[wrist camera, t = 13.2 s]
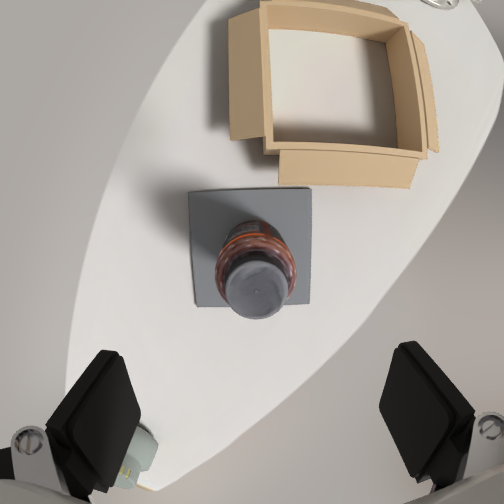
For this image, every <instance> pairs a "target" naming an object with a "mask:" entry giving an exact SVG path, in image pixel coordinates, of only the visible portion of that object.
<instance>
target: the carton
mask: <svg viewBox="0 0 504 504" xmlns="http://www.w3.org/2000/svg"><path fill="white" fill-rule="evenodd" d="M268 29H287V30H304V31H315V32H325V33H333V34H340V35H347V36H353V37H359V38H364V39H369V40H374V41H379V42H383V43H385V45H386V50H387V55H388V61H389V67H390V74H391V80H392V88H393V96H394V105H395V115H396V127H397V144H398V149H395V148H386V147H377V146H366V145H354V144H338V143H318V142H273V115H272V91H271V70H270V51H269V34H268ZM228 51H229V118H230V140H232V141H234V140H241V139H248V138H256V137H263V155H279V176H278V184H279V185H339V186H369V187H389V188H405V189H409V188H410V185H411V182H412V180H413V177H414V174H415V171H416V168H417V165H418V162H419V160H422V159H428V158H427V149H429V150H431V151H434V152H436V153H439V141H438V128H437V117H436V109H435V101H434V94H433V87H432V81H431V75H430V70H429V65H428V60H427V55H426V51H425V46H424V44H423V43H422V41H421V40H420V39H419V38H418V37H417V36H416V35H415V34H414V33H413V32H412V31H410V30H409V27H408V23H406V22H402V21H399V18H398V17H396V16H395V15H394V14H393V13H392V12H391V11H390V10H388V9H387V8H385V7H382V6H378V5H374V4H369V3H365V2H360V1H356V0H271V1H260V4H259V8H257V9H254V10H251V11H248V12H246V13H243V14H240V15H237V16H235V17H232V18H230V19H228Z"/></svg>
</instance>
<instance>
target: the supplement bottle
mask: <svg viewBox="0 0 504 504" xmlns="http://www.w3.org/2000/svg"><path fill="white" fill-rule="evenodd" d="M296 276H297V272H296V265H295V261H294V259H293V256H292V254H291V252H290V250H289V249H288V247H287V245H286V243H285V241H284V240H283V238H282V236H281V234H280V233H279V232H278V230H277V229H276V228H274V227H273V226H272V225H270V224H269V223H266V222H264V221H260V220H248V221H244V222H242V223H240V224H238V225H236V226H235V227H234V228H233V229H232V230H231V231H230V232H229V234H228V235H227V237H226V239H225V242H224V244H223V247H222V249H221V252H220V254H219V257H218V260H217V263H216V267H215V282H216V286H217V289H218V291H219V293H220V295H221V297H222V298H223V300H224V301H226V302H227V303H228V304H229V305H230V307H231V308H232V309H233V310H234V311H235V312H236V313H238V314H239V315H241V316H243V317H245V318H249V319H264V318H267V317H270V316H272V315H273V314H275V313H276V312H278V311H279V310H280V309H281V308H282V307H283V305H284V304H285V302H286V300H287V299H288V298H289V297H290V295H291V293H292V291H293V289H294V287H295V283H296Z"/></svg>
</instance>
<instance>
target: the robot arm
mask: <svg viewBox="0 0 504 504" xmlns="http://www.w3.org/2000/svg"><path fill="white" fill-rule="evenodd" d="M422 1H424V2H426V3H428V4H430V5H432V6H434V7H437V8H440V9H444V10H450V9H453V8H454V7H456V6H457V5H458V3H459V0H422ZM472 1H474V2H475V3H477V4H479V3H481V1H482V0H472ZM379 409H380V412H381V414H382V417H383V419H384V421H385V423H386V425H387V427H388V429H389V431H390V433H391V435H392V437H393V439H394V442H395V444H396V446H397V448H398V450H399V453H400V455H401V457H402V459H403V461H404V463H405V466H406V468H407V470H408V472H409V474H410V476H411V477H413V478H414V477H415V479H416V481H417V483H420V482H423V481H425V480H428V479H432V481H433V485H432V488H431V491H430V493H429V494H428V495H426V496H423V497H421V498H418V499H415V500H413V501H410V502H407V503H404V504H504V416H502V415H500V414H499V413H496V412H484V413H482V414H480V415H479V416H478V417H477V418H476V417H475V416H474V413H475V410H474V409H473V407H472V406H471V405H470V404H469V402H468V401H467V400H466V399H465V398H464V396H463V395H462V394H461V393H460V391H459V390H458V389H457V388H456V387H455V385H454V384H453V383H452V382H451V381H450V379H449V378H448V377H447V376H446V375H445V373H444V372H443V371H442V370H441V369H440V368H439V367H438V365H437V364H436V363H435V362H434V361H433V359H432V358H431V357H430V356H429V355H428V354H427V353H426V352H425V350H424V349H423V348H422V347H421V346H420V345H419V344H418V343H417V342H416V341H409V342H404V343H400V344H399V346H398V348H396V349H395V350H394V353H393V357H392V361H391V365H390V369H389V373H388V376H387V380H386V383H385V386H384V390H383V393H382V396H381V399H380V403H379ZM140 417H141V411H140V407H139V405H138V402H137V399H136V396H135V393H134V390H133V388H132V385H131V381H130V378H129V375H128V372H127V369H126V366H125V362H124V359H123V357H122V356H119V354H118V352H116V351H109V350H101V351H100V352H99V353H98V354H97V355H96V357H95V358H94V359H93V361H92V362H91V363H90V364H89V366H88V367H87V368H86V370H85V371H84V372H83V374H82V375H81V376H80V378H79V379H78V380H77V382H76V383H75V384H74V386H73V387H72V388H71V390H70V391H69V392H68V394H67V395H66V396H65V398H64V399H63V401H62V402H61V403H60V405H59V406H58V407H57V409H56V410H55V412H54V413H53V415H52V416H51V417H50V419H49V420H48V421H47V423H46V424H45V425H46V426H47V428H46V430H45V431H44V430H43V429H41V428H39V427H36V426H26V427H23V428H21V429H19V430H18V431H17V432H16V433H15V434H14V435H13V437H12V440H11V447H8V448H5V449H0V504H95V502H94V500H93V498H92V495H91V493H92V491H93V489H95V490H98V491H101V492H104V493H107V491H108V489H109V487H113V485H114V484H115V481H116V478H117V476H118V473H119V471H120V468H121V465H122V463H123V460H124V458H125V455H126V453H127V450H128V448H129V445H130V443H131V440H132V438H133V435H134V433H135V430H136V428H137V425H138V423H139V420H140Z"/></svg>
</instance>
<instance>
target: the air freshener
mask: <svg viewBox="0 0 504 504" xmlns="http://www.w3.org/2000/svg"><path fill="white" fill-rule="evenodd" d="M157 448H158V443H157V441H156V440H155V439H154V438H153V437H152V436H151V435H150V434H149V433H148V432H146V431H145V430H143V429H142V428H140V427H138V426H137V428H136V430H135V433H134V435H133V438H132V440H131V443H130V445H129V448H128V450H127V453H126V455H125V458H124V460H123V463H122V465H121V468H120V471H119V473H118V476H117V478H116V481H115V484H114V485H115V486H117V487H120V488H125V489H131V488H134V487H135V485H136V482H137V479H138V476H139V473H140V472H143V471H148V470H149V468H150V466H151V464H152V461H153V459H154V457H155V454H156V451H157Z"/></svg>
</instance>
